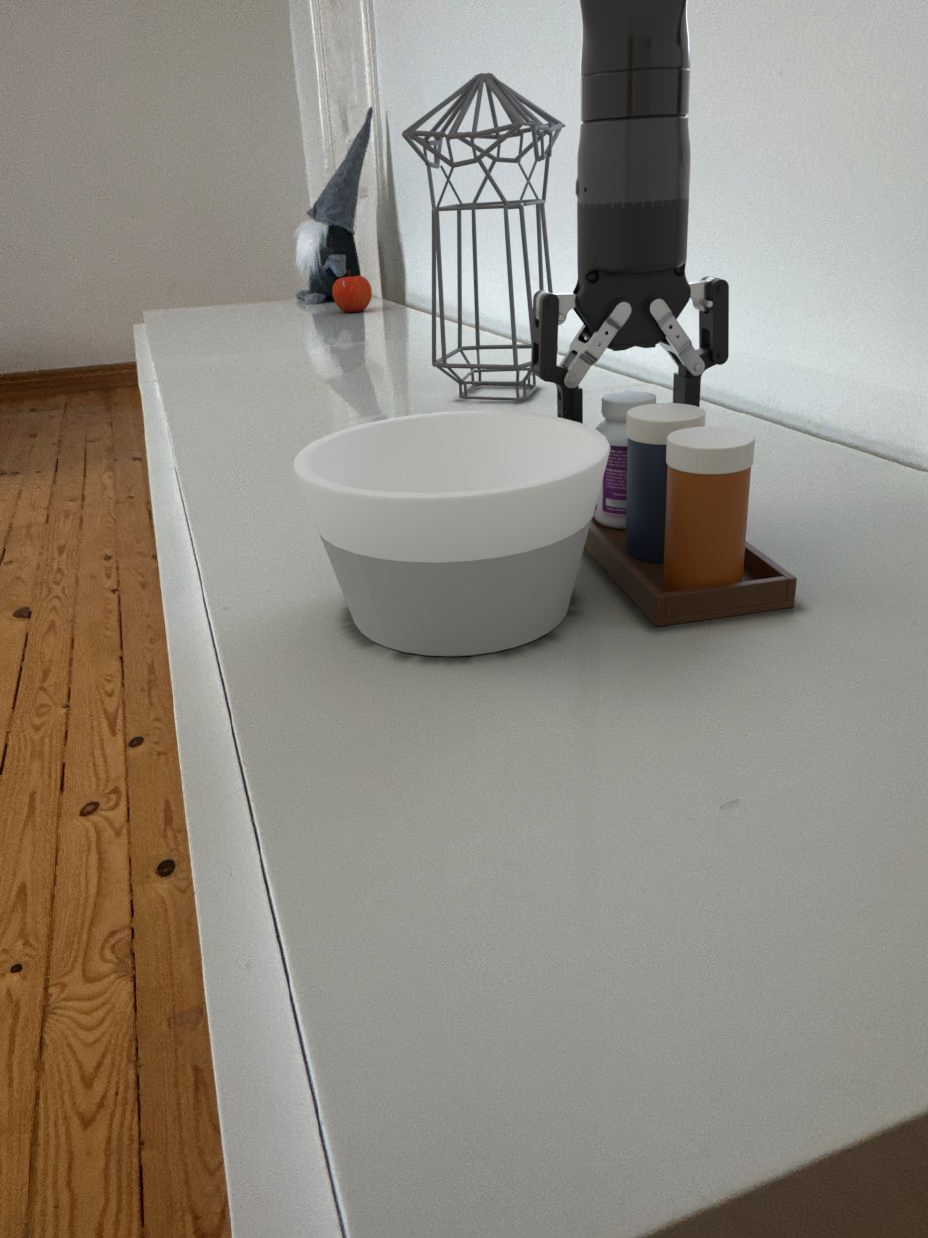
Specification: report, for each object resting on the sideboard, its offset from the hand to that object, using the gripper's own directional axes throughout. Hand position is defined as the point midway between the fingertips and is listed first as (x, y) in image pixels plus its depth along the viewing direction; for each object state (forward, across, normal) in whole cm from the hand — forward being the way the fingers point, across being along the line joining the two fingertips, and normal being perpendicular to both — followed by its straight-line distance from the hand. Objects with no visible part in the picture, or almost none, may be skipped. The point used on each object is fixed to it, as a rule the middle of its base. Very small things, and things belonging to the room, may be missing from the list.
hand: (628, 430), depth 72 cm
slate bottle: (+7, 0, -7) cm, 10 cm away
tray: (+8, 0, -7) cm, 10 cm away
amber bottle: (+7, 0, -14) cm, 16 cm away
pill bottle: (+7, 0, 0) cm, 7 cm away
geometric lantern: (+8, +1, +50) cm, 51 cm away
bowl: (+8, -16, -11) cm, 21 cm away
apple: (+8, -8, +138) cm, 138 cm away
